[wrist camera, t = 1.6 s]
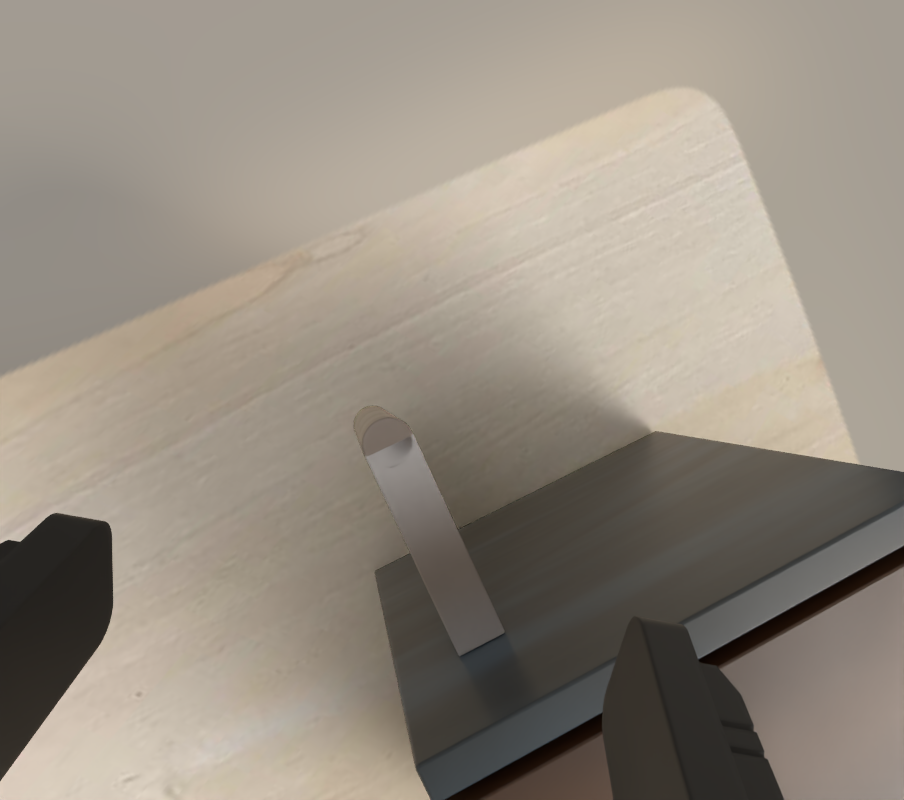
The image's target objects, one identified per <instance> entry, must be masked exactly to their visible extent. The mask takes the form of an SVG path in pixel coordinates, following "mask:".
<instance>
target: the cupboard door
mask: <svg viewBox="0 0 904 800" xmlns="http://www.w3.org/2000/svg"><path fill="white" fill-rule="evenodd" d="M354 431H355V433H356V436H357V438H358V441H359V444H360V446H361V449H362V451H363V454H364V456H365V458H366V460H367V463H368V465H369V467H370V469H371V471H372V473H373V475H374V477H375V480H376V482H377V484H378V486H379V488H380V490H381V492H382V494H383V497H384V499H385V501H386V503H387V505H388V507H389V509H390V511H391V513H392V516H393V518H394V520H395V522H396V524H397V526H398V528H399V530H400V533H401V535H402V537H403V539H404V541H405V543H406V545H407V547H408V550H409V552H410V554H408V555H406V556H404V557H402V558H400V559H398V560H396V561H394V562H392V563H390V564H388V565H386V566H384V567H382V568H380V569H378V570H376V571H375V577H376V581H377V586H378V591H379V596H380V601H381V605H382V610H383V615H384V620H385V625H386V629H387V634H388V639H389V644H390V648H391V653H392V658H393V663H394V668H395V672H396V677H397V682H398V687H399V691H400V696H401V701H402V706H403V711H404V715H405V720H406V725H407V730H408V735H409V739H410V744H411V749H412V754H413V758H414V763H415V768H416V771H417V773H418V775H419V777H420V779H421V781H422V783H423V785H424V787H425V789H426V791H427V793H428V795H429V797H430V799H431V800H445V799H447V798H449V797H451V796H453V795H454V794H456V793H458V792H460V791H462V790H464V789H465V788H467V787H469V786H471V785H473V784H474V783H476V782H478V781H480V780H482V779H483V778H485V777H487V776H489V775H491V774H493V773H494V772H496V771H498V770H500V769H502V768H503V767H505V766H507V765H509V764H511V763H512V762H514V761H516V760H518V759H520V758H521V757H523V756H525V755H527V754H529V753H531V752H532V751H534V750H536V749H538V748H540V747H541V746H543V745H545V744H547V743H549V742H550V741H552V740H554V739H556V738H558V737H559V736H561V735H563V734H565V733H567V732H569V731H570V730H572V729H574V728H576V727H578V726H579V725H581V724H583V723H585V722H587V721H588V720H590V719H592V718H594V717H596V716H597V715H599V714H601V713H602V712H603V703H604V697H605V693H606V689H607V686H608V683H609V680H610V677H611V674H612V671H613V668H614V665H615V662H616V659H617V656H618V653H619V650H620V647H621V644H622V641H623V638H624V635H625V632H626V629H627V626H628V624H629V622H630V620H631V619H632V618H633V617H634V616H637V617H643V618H649V619H654V620H660V621H666V622H671V623H677V624H682V625H684V626H685V627H686V628H687V630H688V632H689V635H690V638H691V641H692V643H693V646H694V649H695V652H696V655H697V657H698V660H699V659H701V658H702V657H704V656H706V655H708V654H710V653H712V652H713V651H715V650H717V649H719V648H721V647H722V646H724V645H726V644H728V643H730V642H731V641H733V640H735V639H737V638H739V637H740V636H742V635H744V634H746V633H748V632H750V631H751V630H753V629H755V628H757V627H759V626H760V625H762V624H764V623H766V622H768V621H769V620H771V619H773V618H775V617H777V616H779V615H780V614H782V613H784V612H786V611H788V610H789V609H791V608H793V607H795V606H797V605H798V604H800V603H802V602H804V601H806V600H807V599H809V598H811V597H813V596H815V595H817V594H818V593H820V592H822V591H824V590H826V589H827V588H829V587H831V586H833V585H835V584H836V583H838V582H840V581H842V580H844V579H845V578H847V577H849V576H851V575H853V574H855V573H856V572H858V571H860V570H862V569H864V568H865V567H867V566H869V565H871V564H873V563H874V562H876V561H878V560H880V559H882V558H883V557H885V556H887V555H889V554H891V553H893V552H894V551H896V550H898V549H900V548H902V547H903V546H904V472H900V471H894V470H887V469H881V468H875V467H870V466H864V465H858V464H851V463H845V462H839V461H833V460H827V459H821V458H815V457H809V456H803V455H797V454H791V453H785V452H779V451H773V450H767V449H761V448H755V447H749V446H743V445H736V444H730V443H724V442H718V441H712V440H706V439H700V438H694V437H688V436H682V435H676V434H670V433H664V432H658V431H655V432H653V433H651V434H649V435H647V436H645V437H643V438H641V439H639V440H637V441H635V442H633V443H631V444H629V445H627V446H625V447H623V448H621V449H619V450H617V451H615V452H613V453H611V454H609V455H607V456H605V457H603V458H601V459H599V460H597V461H595V462H593V463H591V464H589V465H587V466H585V467H583V468H581V469H579V470H577V471H575V472H573V473H571V474H569V475H567V476H565V477H563V478H561V479H559V480H557V481H555V482H553V483H551V484H549V485H547V486H545V487H543V488H541V489H539V490H537V491H535V492H533V493H531V494H529V495H527V496H525V497H523V498H521V499H519V500H517V501H515V502H513V503H511V504H509V505H507V506H505V507H503V508H501V509H499V510H497V511H495V512H493V513H491V514H489V515H487V516H485V517H483V518H481V519H479V520H477V521H475V522H473V523H471V524H469V525H467V526H465V527H463V528H461V529H459V530H458V529H457V527H456V525H455V522H454V520H453V518H452V516H451V514H450V512H449V509H448V507H447V505H446V503H445V501H444V499H443V496H442V494H441V492H440V490H439V488H438V486H437V484H436V481H435V479H434V477H433V475H432V473H431V471H430V468H429V466H428V464H427V462H426V460H425V458H424V455H423V453H422V451H421V449H420V447H419V445H418V442H417V440H416V438H415V436H414V434H413V432H412V430H411V428H410V427H409V426H408V425H407V424H406V423H405V422H403V421H402V420H400V419H399V418H397V417H395V416H394V415H392V414H391V413H389V412H387V411H386V410H384V409H383V408H381V407H378V406H367V407H365V408H363V409H361V410H360V411H359V412H358V413H357V415H356V416H355V419H354Z"/></svg>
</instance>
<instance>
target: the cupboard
mask: <svg viewBox="0 0 904 800" xmlns="http://www.w3.org/2000/svg"><path fill="white" fill-rule="evenodd" d="M699 663H704V664H710V665H716V666H717V667H718V668H719V669H720V670H721V671H722V673H723V674H724V675H725V676H726V677H727V678H728V680H729V681H730V682H731V683H732V684H733V685H734V687H735V688H736V689H737V690H738V691H739V693H740V694H741V695H742V698H743V700H744V702H745V705H746V707H747V710H748V712H749V715H750V717H751V720H752V722H753V724H754V732H757V734H758V737H759V739H760V741H761V744H762V746H763V749H764V751H765V753H764V757H765V758H766V759H768V761H769V763H770V766H771V768H772V771H773V773H774V776H775V778H776V780H777V783H778V785H779V788H780V790H781V793H782V795H783V798H784V800H904V546H903V547H902V548H900V549H898V550H896V551H894V552H893V553H891V554H889V555H887V556H885V557H883V558H882V559H880V560H878V561H876V562H874V563H873V564H871V565H869V566H867V567H865V568H864V569H862V570H860V571H858V572H856V573H855V574H853V575H851V576H849V577H847V578H845V579H844V580H842V581H840V582H838V583H836V584H835V585H833V586H831V587H829V588H827V589H826V590H824V591H822V592H820V593H818V594H817V595H815V596H813V597H811V598H809V599H807V600H806V601H804V602H802V603H800V604H798V605H797V606H795V607H793V608H791V609H789V610H788V611H786V612H784V613H782V614H780V615H779V616H777V617H775V618H773V619H771V620H769V621H768V622H766V623H764V624H762V625H760V626H759V627H757V628H755V629H753V630H751V631H750V632H748V633H746V634H744V635H742V636H740V637H739V638H737V639H735V640H733V641H731V642H730V643H728V644H726V645H724V646H722V647H721V648H719V649H717V650H715V651H713V652H712V653H710V654H708V655H706V656H704V657H702V658H701V659H699ZM445 800H613V794H612V788H611V782H610V776H609V770H608V764H607V758H606V752H605V746H604V740H603V732H602V713H601V714H599V715H597V716H596V717H594V718H592V719H590V720H588V721H587V722H585V723H583V724H581V725H579V726H578V727H576V728H574V729H572V730H570V731H569V732H567V733H565V734H563V735H561V736H559V737H558V738H556V739H554V740H552V741H550V742H549V743H547V744H545V745H543V746H541V747H540V748H538V749H536V750H534V751H532V752H531V753H529V754H527V755H525V756H523V757H521V758H520V759H518V760H516V761H514V762H512V763H511V764H509V765H507V766H505V767H503V768H502V769H500V770H498V771H496V772H494V773H493V774H491V775H489V776H487V777H485V778H483V779H482V780H480V781H478V782H476V783H474V784H473V785H471V786H469V787H467V788H465V789H464V790H462V791H460V792H458V793H456V794H454V795H453V796H451V797H449V798H447V799H445Z"/></svg>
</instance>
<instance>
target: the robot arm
mask: <svg viewBox="0 0 904 800" xmlns="http://www.w3.org/2000/svg"><path fill="white" fill-rule="evenodd" d="M112 609H113V572H112V533H111V528H110V526H109V524H108V523H107V522H105V521H99V520H93V519H88V518H82V517H76V516H71V515H65V514H59V513H55V514H52V515H50V516H48V517H47V518H46V519H45V520H44V521H43V522H42V523H40V524H39V525H38V526H37V527H36V528H35V529H34V530H33V531H32V532H31V533H30V534H29V535H27V536H26V537H25V538H24V539H23V540H22V541H21V542H17V541H11V540H7V541H5V542H3V543H1V544H0V781H1V779H2V778H3V777H4V775H5V774H6V772H7V771H8V770H9V768H10V767H11V766H12V764H13V763H14V762H15V760H16V759H17V757H18V756H19V755H20V753H21V752H22V751H23V749H24V748H25V746H26V745H27V744H28V742H29V741H30V740H31V738H32V737H33V735H34V734H35V733H36V731H37V730H38V729H39V727H40V726H41V725H42V723H43V722H44V720H45V719H46V718H47V716H48V715H49V714H50V712H51V711H52V709H53V708H54V707H55V705H56V704H57V703H58V701H59V700H60V699H61V697H62V696H63V694H64V693H65V692H66V690H67V689H68V688H69V686H70V685H71V683H72V682H73V681H74V679H75V678H76V677H77V675H78V674H79V673H80V671H81V670H82V668H83V667H84V666H85V664H86V663H87V662H88V660H89V659H90V657H91V656H92V655H93V653H94V652H95V651H96V649H97V648H98V646H99V645H100V643H101V642H102V640H103V638H104V636H105V634H106V631H107V629H108V626H109V623H110V619H111V615H112ZM602 732H603V740H604V746H605V752H606V758H607V764H608V770H609V776H610V782H611V788H612V794H613V800H784V798H783V795H782V793H781V790H780V788H779V785H778V783H777V780H776V778H775V776H774V773H773V771H772V768H771V766H770V763H769V761H768V759H766V758H765V757H764V753H765V751H764V749H763V746H762V744H761V741H760V739H759V737H758V734H757V732H754V724H753V722H752V720H751V717H750V715H749V712H748V710H747V707H746V705H745V702H744V700H743V698H742V695H741V694H740V693H739V691H738V690H737V689H736V688H735V687H734V685H733V684H732V683H731V682H730V681H729V680H728V678H727V677H726V676H725V675H724V674H723V673H722V671H721V670H720V669H719V668H718V667H717V666H716V665H710V664H704V663H699V660H698V657H697V655H696V652H695V649H694V646H693V643H692V641H691V638H690V635H689V632H688V630H687V628H686V627H685V626H684V625H682V624H677V623H671V622H666V621H660V620H654V619H649V618H643V617H637V616H634V617H633V618H632V619H631V620H630V622H629V624H628V626H627V629H626V632H625V635H624V638H623V641H622V644H621V647H620V650H619V653H618V656H617V659H616V662H615V665H614V668H613V671H612V674H611V677H610V680H609V683H608V686H607V689H606V693H605V697H604V703H603V712H602Z"/></svg>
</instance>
